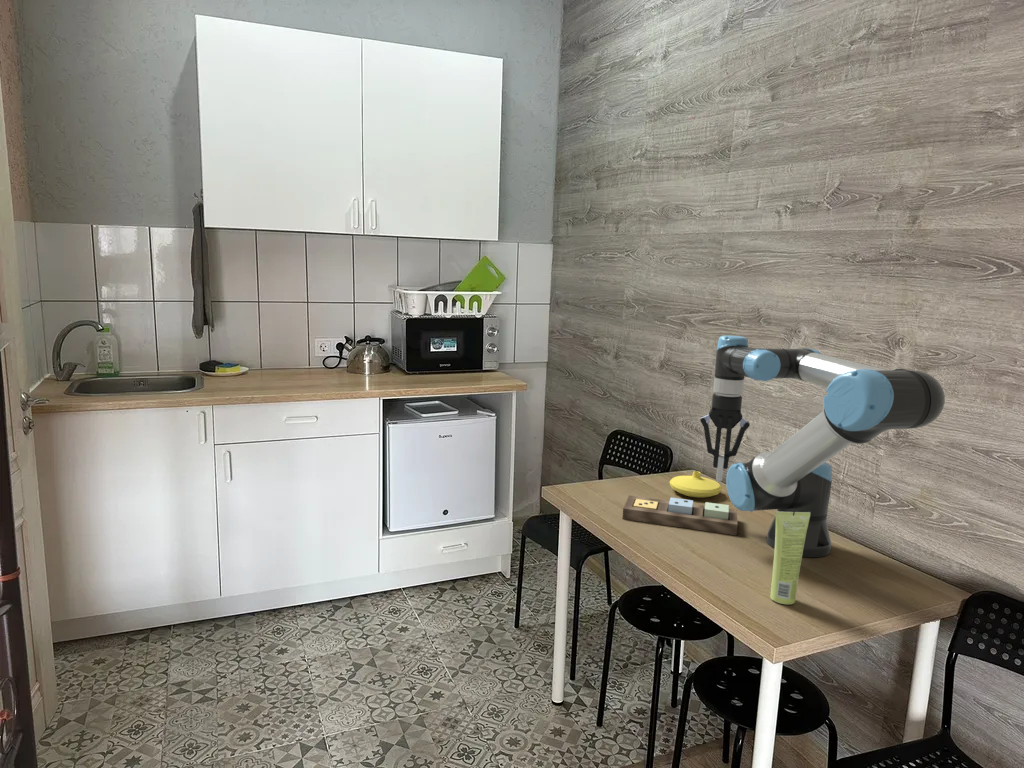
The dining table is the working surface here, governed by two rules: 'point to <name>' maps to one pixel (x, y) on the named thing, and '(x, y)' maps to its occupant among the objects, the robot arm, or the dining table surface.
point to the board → (680, 517)
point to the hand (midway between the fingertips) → (719, 479)
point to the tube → (788, 555)
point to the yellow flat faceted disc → (695, 485)
